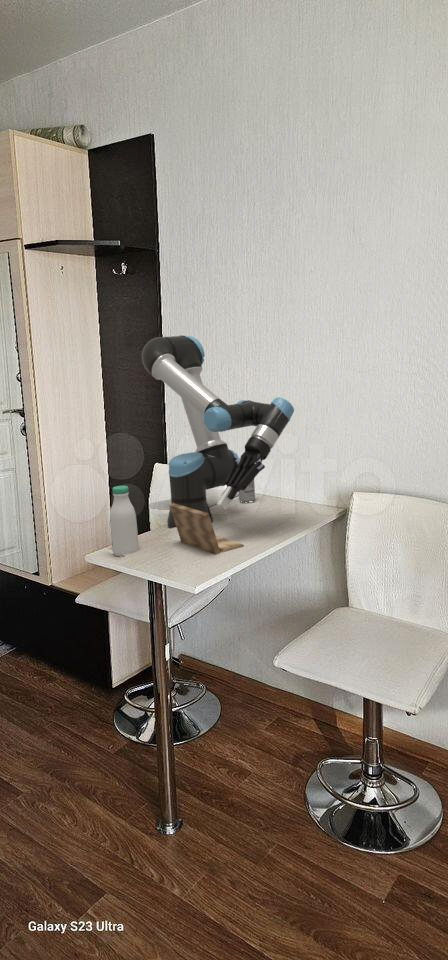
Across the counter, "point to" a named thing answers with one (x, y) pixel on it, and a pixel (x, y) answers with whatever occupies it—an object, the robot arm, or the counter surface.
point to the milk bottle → (123, 523)
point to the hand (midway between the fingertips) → (221, 507)
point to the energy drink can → (247, 493)
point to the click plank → (195, 528)
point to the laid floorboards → (227, 544)
